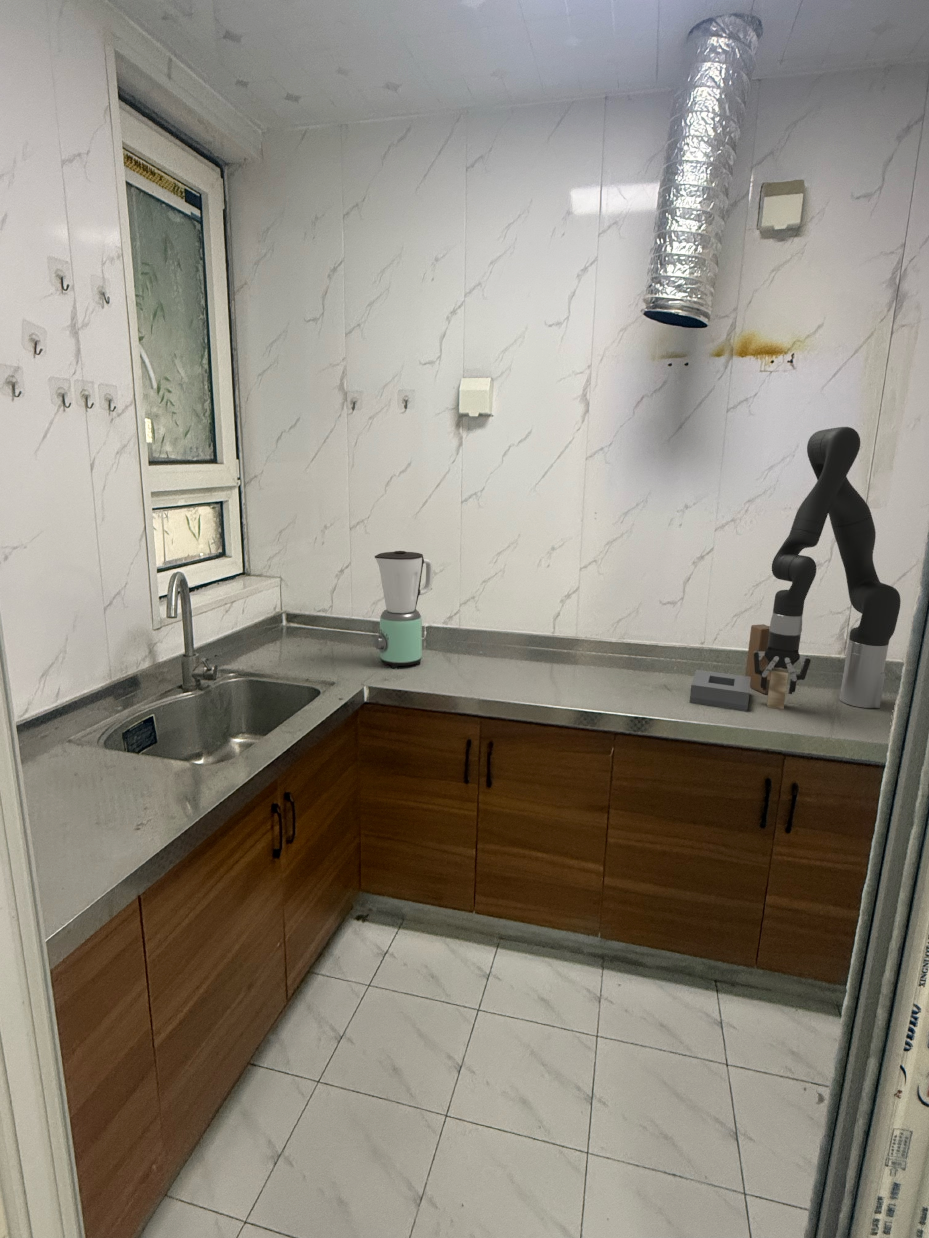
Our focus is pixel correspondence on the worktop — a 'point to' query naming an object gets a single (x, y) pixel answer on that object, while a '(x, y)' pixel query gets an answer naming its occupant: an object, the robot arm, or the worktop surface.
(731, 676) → the socket stand
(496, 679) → the worktop surface
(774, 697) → the beech peg
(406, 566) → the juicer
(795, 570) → the robot arm
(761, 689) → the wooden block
